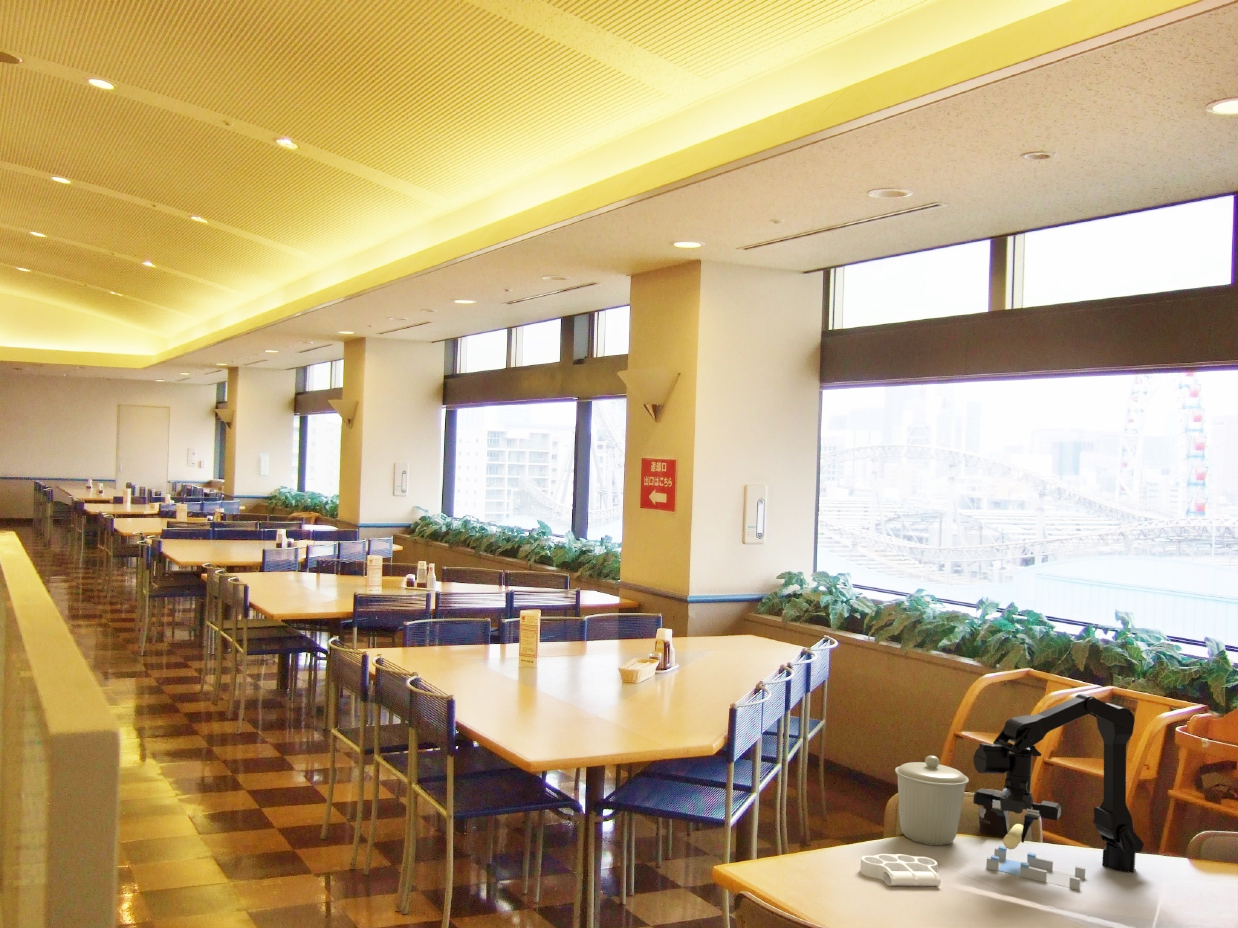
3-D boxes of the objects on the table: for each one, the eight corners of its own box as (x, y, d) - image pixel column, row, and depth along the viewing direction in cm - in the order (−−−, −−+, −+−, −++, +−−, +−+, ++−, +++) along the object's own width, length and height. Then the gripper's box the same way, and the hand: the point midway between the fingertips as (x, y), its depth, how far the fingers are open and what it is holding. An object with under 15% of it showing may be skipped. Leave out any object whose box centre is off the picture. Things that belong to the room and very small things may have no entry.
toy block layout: (1084, 881, 240) (1085, 864, 241) (1078, 894, 232) (1079, 877, 232) (995, 860, 251) (996, 844, 251) (985, 872, 242) (986, 855, 242)
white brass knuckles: (877, 889, 227) (851, 865, 242) (953, 890, 230) (923, 866, 244) (878, 873, 227) (852, 850, 242) (954, 874, 230) (924, 852, 245)
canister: (980, 846, 262) (985, 762, 262) (931, 854, 252) (936, 767, 253) (924, 824, 277) (929, 744, 278) (876, 831, 267) (881, 749, 268)
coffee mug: (1012, 838, 269) (1014, 800, 270) (977, 834, 271) (980, 795, 272) (1005, 825, 281) (1007, 788, 281) (971, 821, 283) (973, 784, 283)
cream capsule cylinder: (1011, 835, 250) (1012, 822, 250) (1026, 838, 248) (1026, 825, 248) (1001, 848, 239) (1002, 834, 239) (1016, 852, 237) (1016, 838, 237)
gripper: (969, 772, 243) (966, 839, 242) (1055, 788, 233) (1051, 858, 232) (980, 763, 252) (976, 828, 252) (1062, 778, 242) (1059, 846, 242)
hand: (1014, 840), depth 244 cm, fingers closed on cream capsule cylinder, 3 cm apart
